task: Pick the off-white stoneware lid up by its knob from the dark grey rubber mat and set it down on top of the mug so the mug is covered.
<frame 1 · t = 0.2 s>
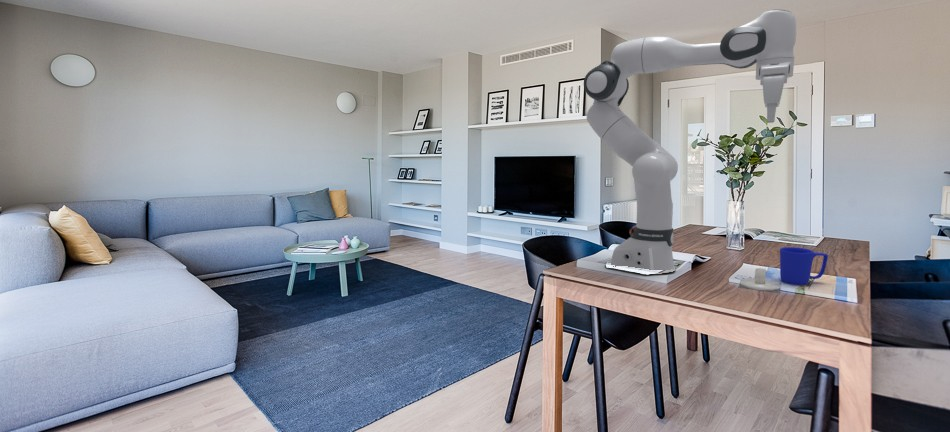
hand: (770, 122, 131), 47 cm above the table, fingers open, 8 cm apart
lid: (759, 285, 133), resting on mat
mat: (759, 286, 133), on the table
mug: (801, 284, 136), on the table
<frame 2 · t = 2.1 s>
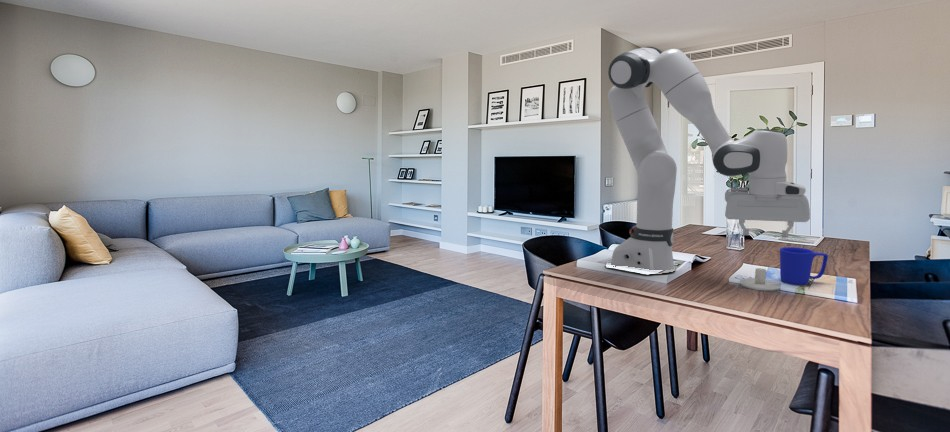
hand: (765, 236, 131), 15 cm above the table, fingers open, 8 cm apart
nothing on the table moved.
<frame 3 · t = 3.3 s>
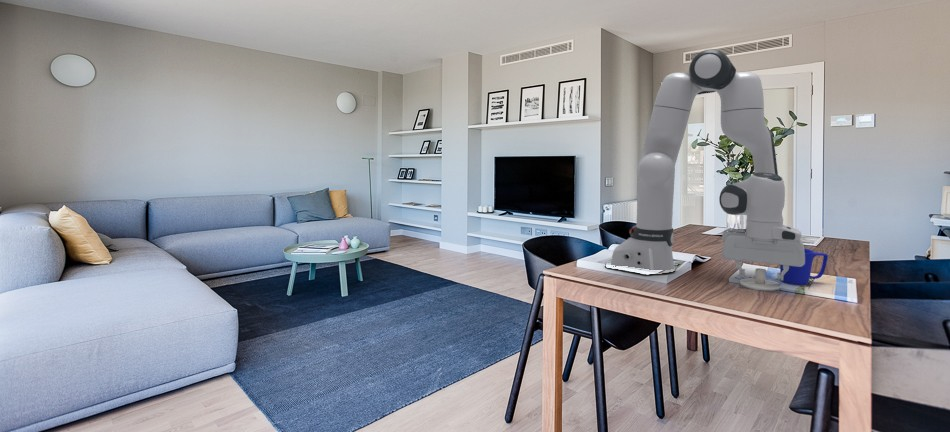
hand: (760, 277, 133), 3 cm above the table, fingers open, 8 cm apart
nothing on the table moved.
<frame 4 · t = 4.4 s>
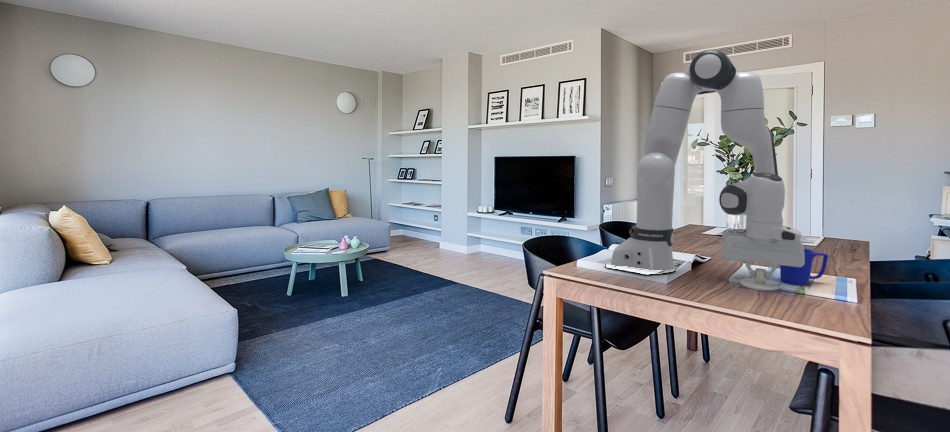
hand: (760, 277, 133), 3 cm above the table, fingers closed on lid, 3 cm apart
lid: (759, 285, 133), resting on mat, touching gripper
everything else where it was.
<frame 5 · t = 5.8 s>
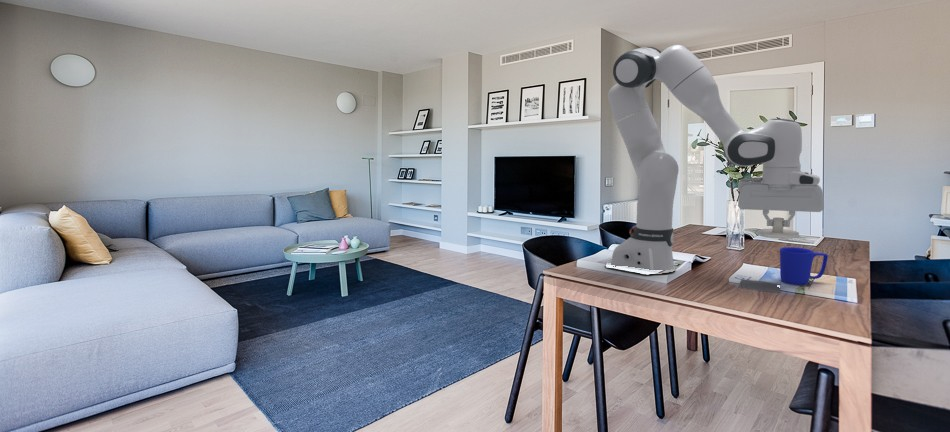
hand: (778, 226, 131), 18 cm above the table, fingers closed on lid, 3 cm apart
lid: (777, 234, 131), point 15 cm above the table, touching gripper
everything else where it was.
when the fingers open (14 cm above the table, at t = 7.5 s): lid drops 1 cm, resting on mug.
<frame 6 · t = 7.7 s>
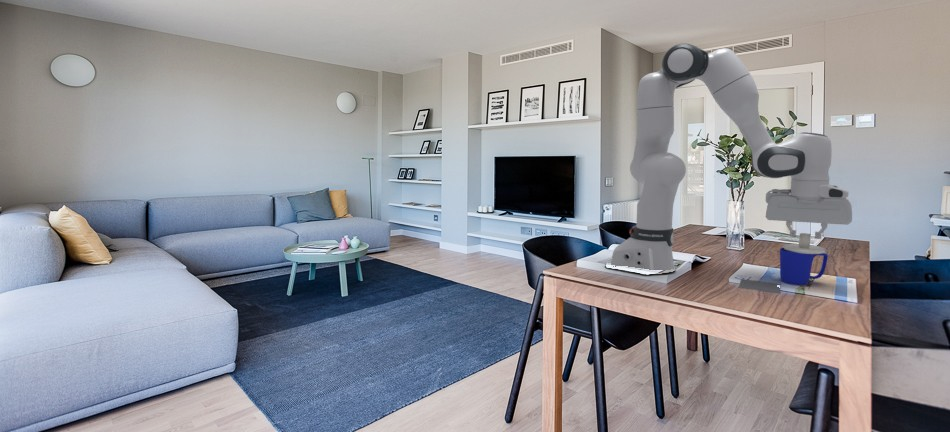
hand: (805, 237, 134), 14 cm above the table, fingers open, 5 cm apart
lid: (803, 250, 135), point 10 cm above the table, touching mug
mug: (801, 284, 136), on the table, touching lid
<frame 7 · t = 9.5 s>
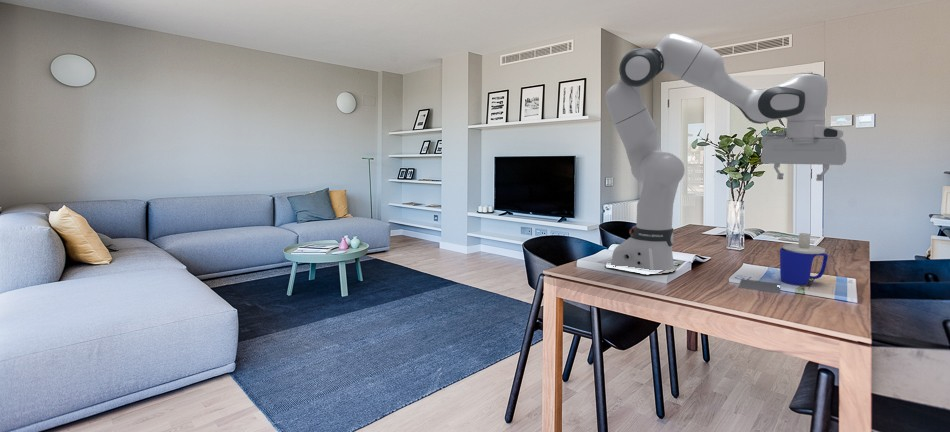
hand: (799, 180, 135), 30 cm above the table, fingers open, 8 cm apart
nothing on the table moved.
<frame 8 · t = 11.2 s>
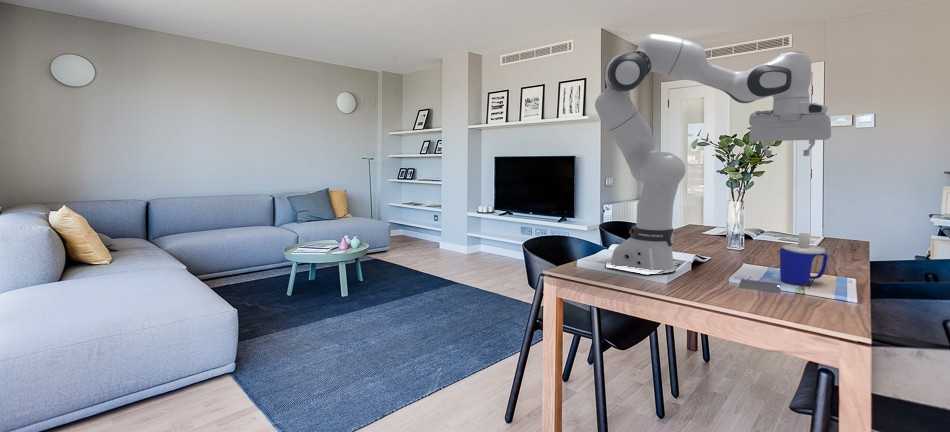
hand: (786, 156, 139), 37 cm above the table, fingers open, 8 cm apart
nothing on the table moved.
at the end: lid 0.2 cm from the mug (horizontally); lid point 10.0 cm above the table; the gripper is holding nothing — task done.
